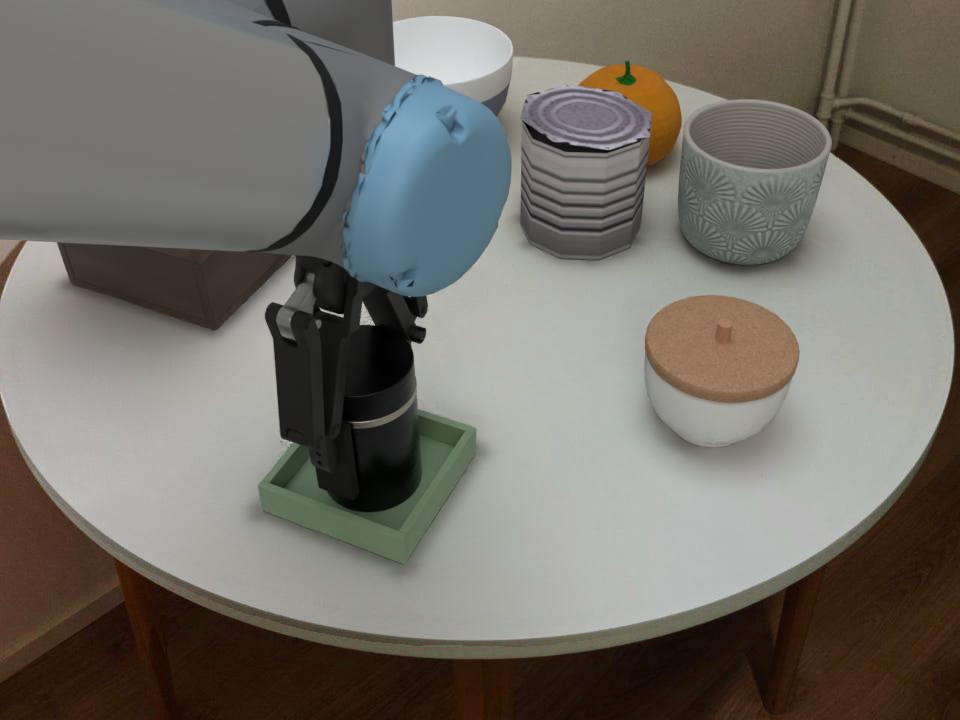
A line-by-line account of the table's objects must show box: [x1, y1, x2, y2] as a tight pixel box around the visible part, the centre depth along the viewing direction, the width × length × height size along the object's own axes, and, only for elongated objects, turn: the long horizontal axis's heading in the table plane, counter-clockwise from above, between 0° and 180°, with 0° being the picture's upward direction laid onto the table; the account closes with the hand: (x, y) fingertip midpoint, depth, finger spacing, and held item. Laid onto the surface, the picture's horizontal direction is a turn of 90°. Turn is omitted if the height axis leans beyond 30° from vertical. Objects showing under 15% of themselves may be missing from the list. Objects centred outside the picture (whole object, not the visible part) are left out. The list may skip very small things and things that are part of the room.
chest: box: [56, 242, 293, 331], centre depth 95 cm, size 20×16×7 cm
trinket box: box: [643, 294, 800, 448], centre depth 76 cm, size 11×11×9 cm
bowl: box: [393, 15, 515, 118], centre depth 109 cm, size 16×16×10 cm
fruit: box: [577, 60, 683, 167], centre depth 105 cm, size 12×12×10 cm
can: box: [519, 84, 651, 261], centre depth 95 cm, size 11×11×12 cm
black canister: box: [327, 324, 422, 512], centre depth 71 cm, size 7×7×11 cm
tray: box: [257, 408, 477, 565], centre depth 74 cm, size 11×11×3 cm
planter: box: [677, 98, 833, 266], centre depth 93 cm, size 12×12×11 cm
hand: (369, 449), depth 73 cm, fingers open, 7 cm apart
